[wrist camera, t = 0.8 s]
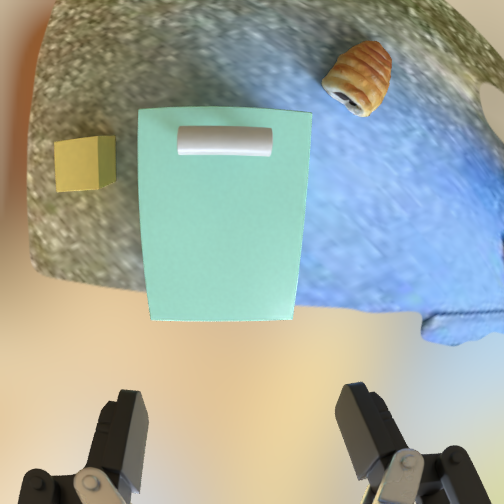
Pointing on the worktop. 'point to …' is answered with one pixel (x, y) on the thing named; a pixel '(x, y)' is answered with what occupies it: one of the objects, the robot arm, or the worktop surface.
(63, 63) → the worktop surface
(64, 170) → the block
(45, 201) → the worktop surface
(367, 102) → the pastry
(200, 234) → the lid
